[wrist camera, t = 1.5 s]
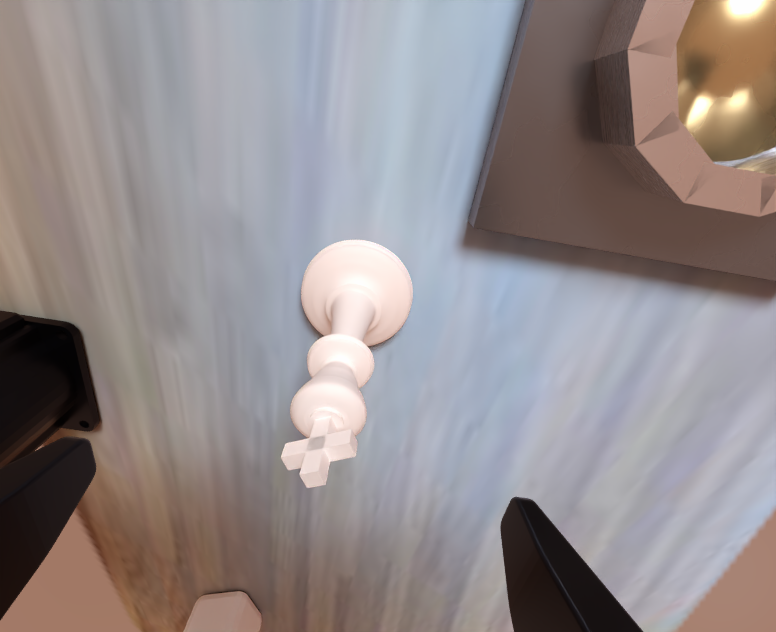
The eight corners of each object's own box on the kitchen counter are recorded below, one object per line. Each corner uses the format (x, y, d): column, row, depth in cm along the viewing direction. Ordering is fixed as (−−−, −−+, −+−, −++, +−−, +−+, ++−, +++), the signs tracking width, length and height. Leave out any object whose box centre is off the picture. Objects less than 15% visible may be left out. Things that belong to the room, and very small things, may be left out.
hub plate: (791, 277, 16) (873, 310, 13) (468, 220, 16) (483, 242, 13) (1134, -221, 10) (1428, -358, 7) (619, -355, 9) (717, -568, 6)
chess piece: (284, 257, 17) (149, 418, 8) (394, 224, 16) (388, 360, 7) (326, 351, 19) (259, 563, 10) (425, 326, 18) (450, 531, 9)
